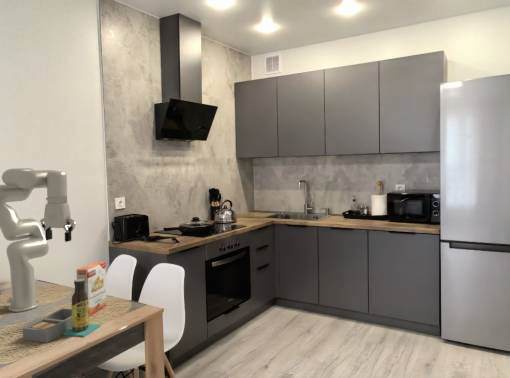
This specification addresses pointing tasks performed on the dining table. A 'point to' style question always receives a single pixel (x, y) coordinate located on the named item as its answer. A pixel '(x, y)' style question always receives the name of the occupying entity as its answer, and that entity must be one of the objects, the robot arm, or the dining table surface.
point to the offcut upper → (43, 325)
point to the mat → (80, 333)
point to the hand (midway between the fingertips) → (58, 240)
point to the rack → (42, 335)
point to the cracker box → (94, 285)
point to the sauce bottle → (80, 307)
